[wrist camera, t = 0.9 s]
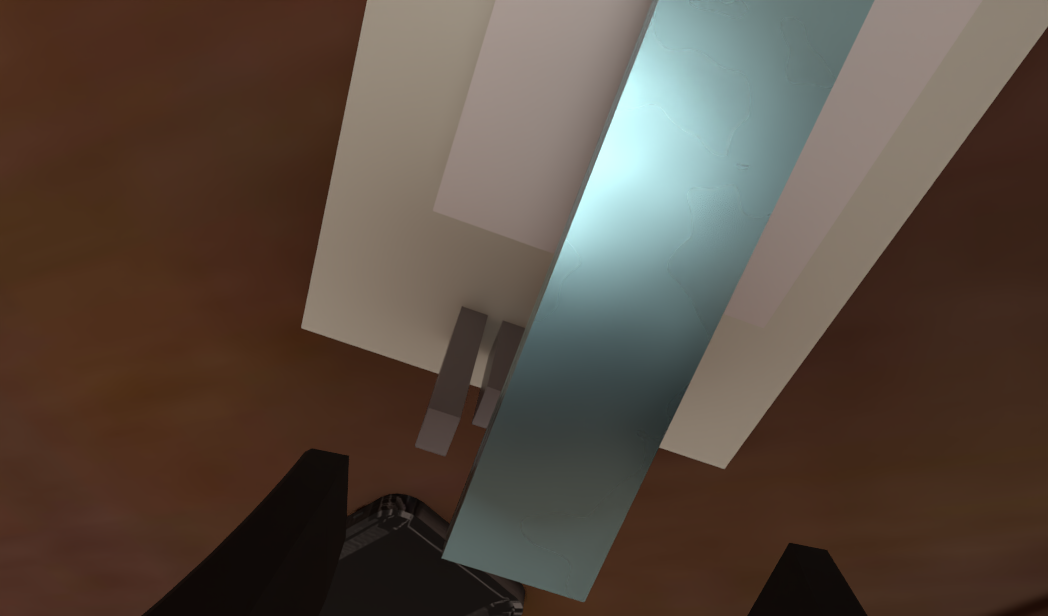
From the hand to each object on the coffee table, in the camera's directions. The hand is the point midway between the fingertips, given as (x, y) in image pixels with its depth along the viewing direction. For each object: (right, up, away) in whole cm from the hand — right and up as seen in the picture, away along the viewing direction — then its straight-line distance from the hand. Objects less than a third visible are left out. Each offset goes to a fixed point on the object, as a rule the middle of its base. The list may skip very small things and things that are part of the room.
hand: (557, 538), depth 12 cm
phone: (-8, -9, +20) cm, 24 cm away
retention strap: (+2, +6, +1) cm, 7 cm away
